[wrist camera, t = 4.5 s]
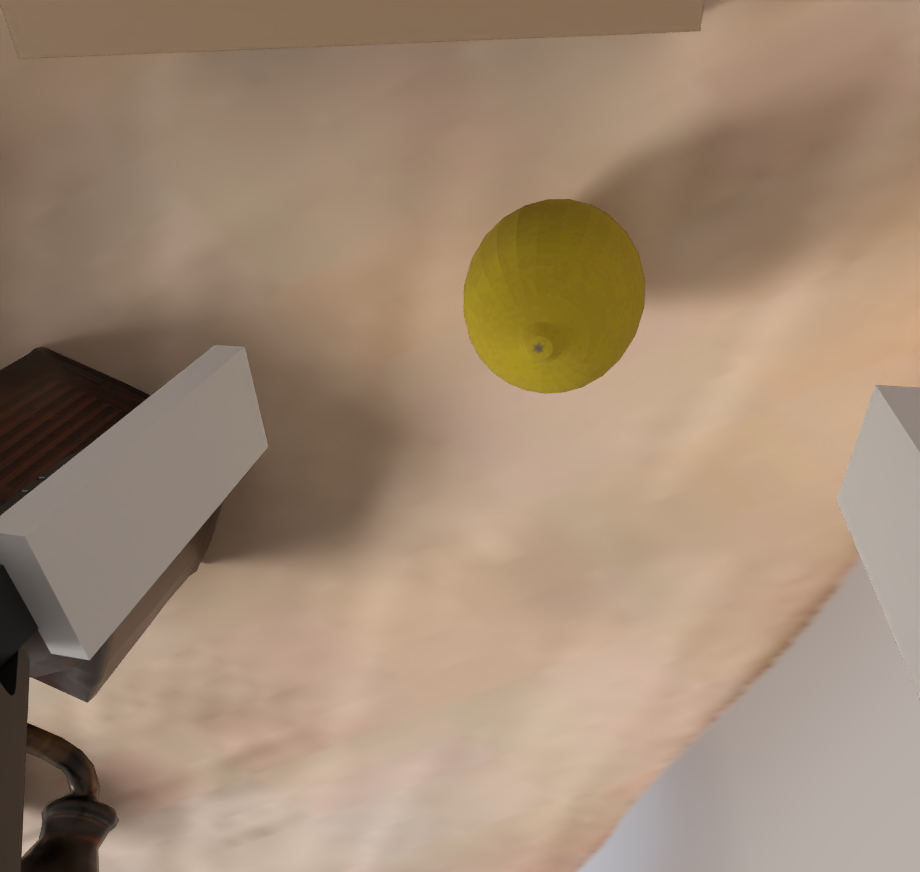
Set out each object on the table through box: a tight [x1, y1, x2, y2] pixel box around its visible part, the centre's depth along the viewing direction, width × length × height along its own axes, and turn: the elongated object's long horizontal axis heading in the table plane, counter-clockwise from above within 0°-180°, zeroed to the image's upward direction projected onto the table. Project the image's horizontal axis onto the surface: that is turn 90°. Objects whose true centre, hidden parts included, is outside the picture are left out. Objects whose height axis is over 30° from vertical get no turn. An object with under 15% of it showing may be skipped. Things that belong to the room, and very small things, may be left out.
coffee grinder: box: [0, 347, 222, 872], centre depth 27 cm, size 16×11×18 cm
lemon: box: [464, 199, 645, 393], centre depth 20 cm, size 6×6×8 cm
